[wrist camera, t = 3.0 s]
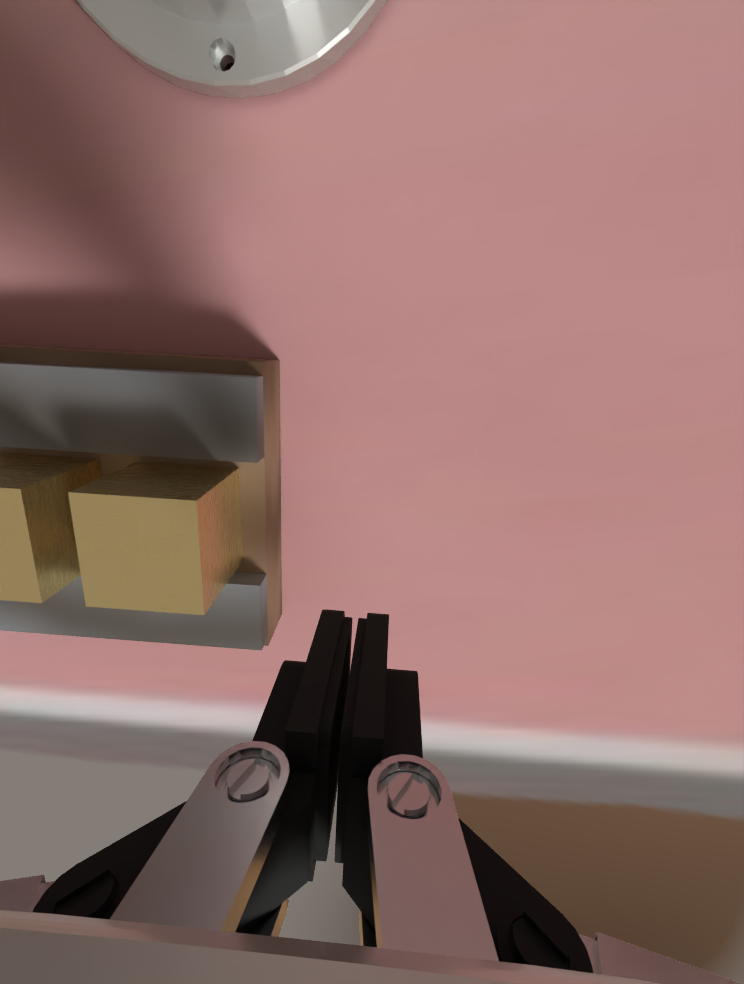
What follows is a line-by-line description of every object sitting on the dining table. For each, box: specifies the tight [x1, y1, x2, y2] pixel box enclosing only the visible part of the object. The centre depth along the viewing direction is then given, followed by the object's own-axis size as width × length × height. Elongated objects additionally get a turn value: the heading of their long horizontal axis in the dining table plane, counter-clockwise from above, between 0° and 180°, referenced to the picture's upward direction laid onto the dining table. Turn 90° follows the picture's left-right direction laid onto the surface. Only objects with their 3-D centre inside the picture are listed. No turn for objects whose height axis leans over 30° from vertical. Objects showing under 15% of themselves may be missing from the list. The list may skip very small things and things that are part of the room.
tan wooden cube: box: [0, 453, 102, 603], centre depth 17 cm, size 4×4×4 cm
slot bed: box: [0, 344, 282, 650], centre depth 19 cm, size 12×13×4 cm
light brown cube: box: [68, 461, 243, 615], centre depth 17 cm, size 4×4×4 cm
